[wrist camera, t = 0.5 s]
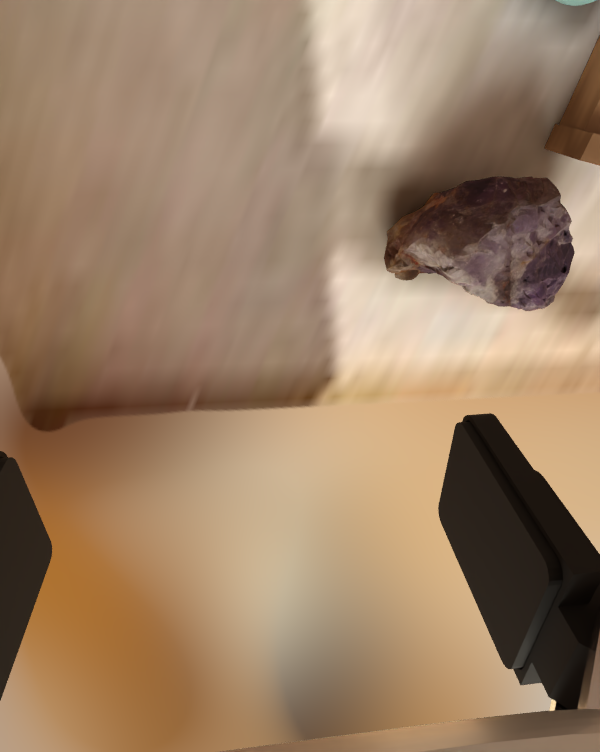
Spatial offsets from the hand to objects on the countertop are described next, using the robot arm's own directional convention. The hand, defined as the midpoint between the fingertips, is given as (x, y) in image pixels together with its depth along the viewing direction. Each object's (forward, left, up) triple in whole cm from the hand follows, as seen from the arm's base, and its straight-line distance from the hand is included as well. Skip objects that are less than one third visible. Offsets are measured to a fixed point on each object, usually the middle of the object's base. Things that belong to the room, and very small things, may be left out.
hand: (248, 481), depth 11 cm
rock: (-1, +17, -28) cm, 33 cm away
